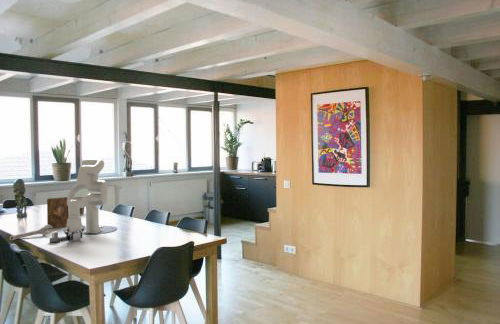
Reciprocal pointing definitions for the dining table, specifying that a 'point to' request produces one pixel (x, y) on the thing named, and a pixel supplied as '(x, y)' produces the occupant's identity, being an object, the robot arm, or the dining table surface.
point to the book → (57, 212)
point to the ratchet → (57, 238)
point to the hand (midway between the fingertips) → (74, 239)
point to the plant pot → (81, 208)
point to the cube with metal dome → (75, 236)
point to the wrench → (33, 232)
